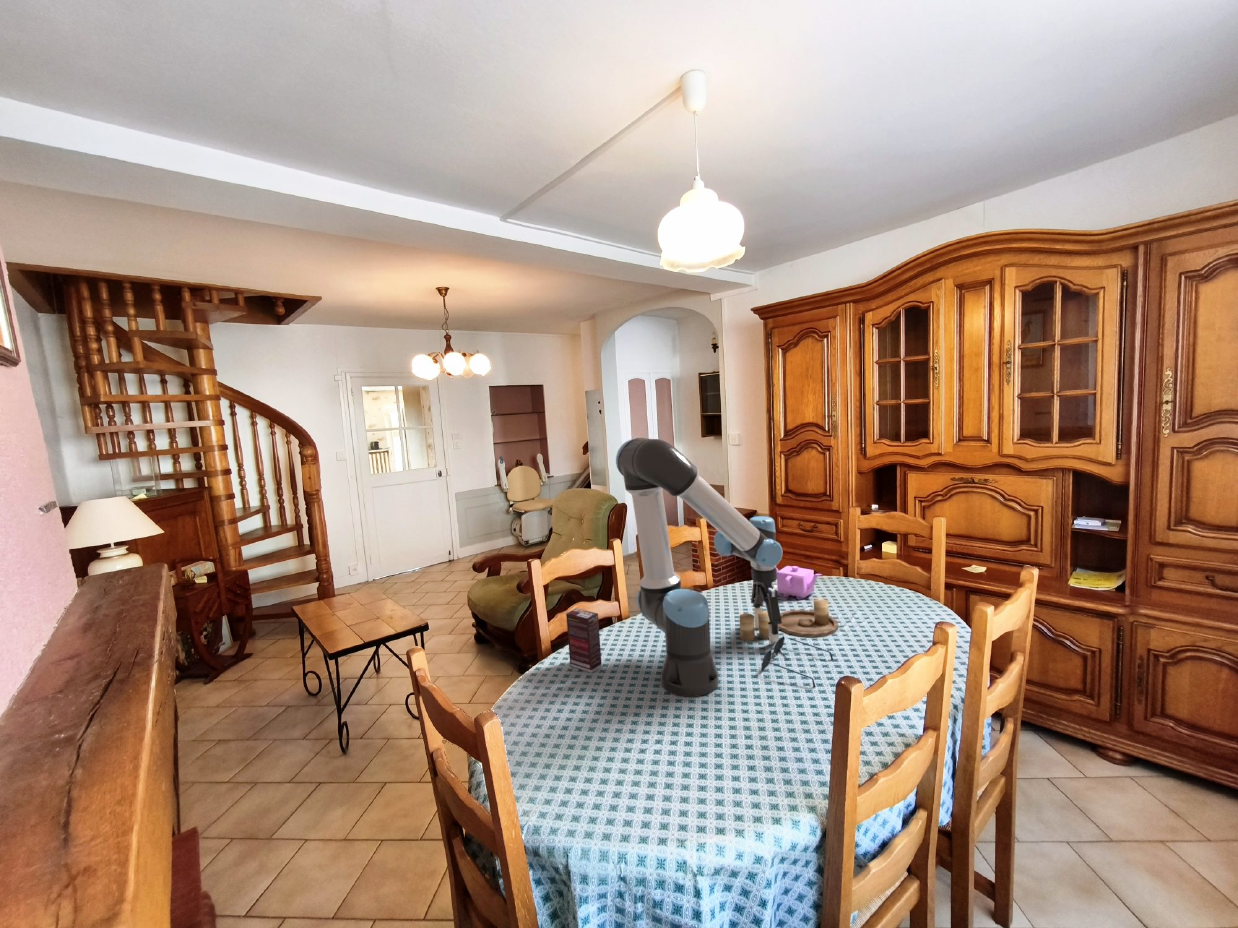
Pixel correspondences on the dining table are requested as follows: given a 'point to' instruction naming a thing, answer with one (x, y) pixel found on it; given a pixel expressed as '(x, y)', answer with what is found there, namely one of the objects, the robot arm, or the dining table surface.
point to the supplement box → (584, 640)
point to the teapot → (796, 581)
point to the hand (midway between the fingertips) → (766, 635)
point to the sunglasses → (777, 649)
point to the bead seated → (821, 612)
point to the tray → (805, 624)
